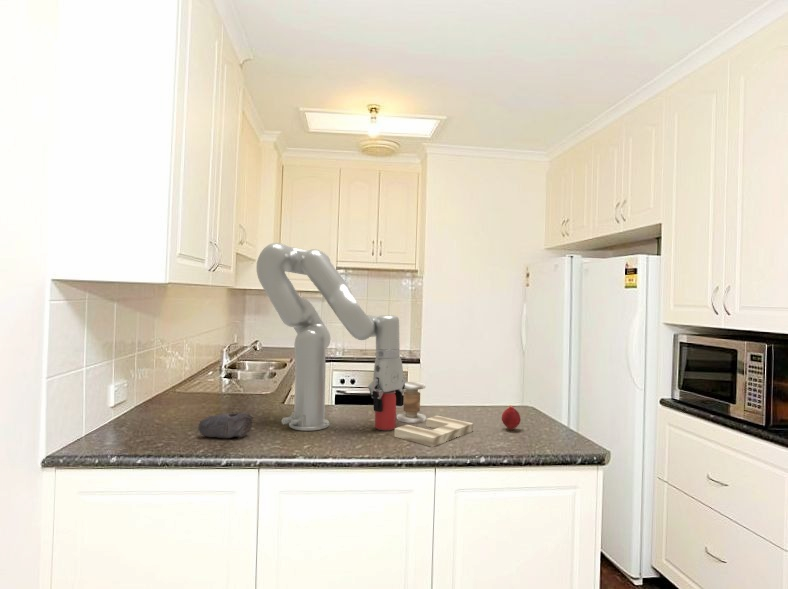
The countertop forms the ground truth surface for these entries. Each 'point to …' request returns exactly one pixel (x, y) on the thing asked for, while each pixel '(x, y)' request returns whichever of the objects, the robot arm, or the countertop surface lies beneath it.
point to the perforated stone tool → (226, 425)
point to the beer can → (386, 412)
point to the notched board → (434, 431)
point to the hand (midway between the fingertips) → (388, 408)
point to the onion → (511, 418)
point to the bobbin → (412, 403)
